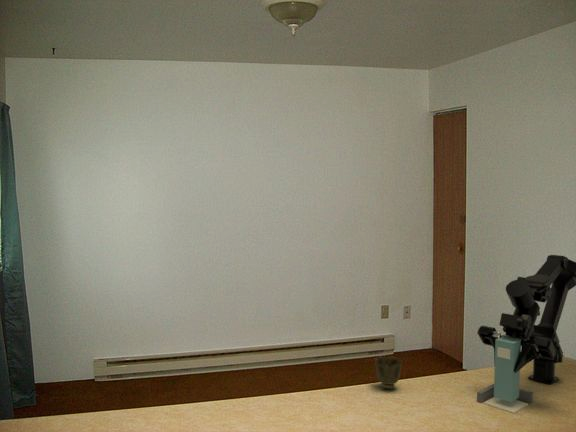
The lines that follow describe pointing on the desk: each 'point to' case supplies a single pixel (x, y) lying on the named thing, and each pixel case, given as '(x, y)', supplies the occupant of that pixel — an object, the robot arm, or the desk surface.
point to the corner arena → (504, 404)
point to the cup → (388, 371)
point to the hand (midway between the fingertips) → (505, 369)
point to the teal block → (506, 368)
